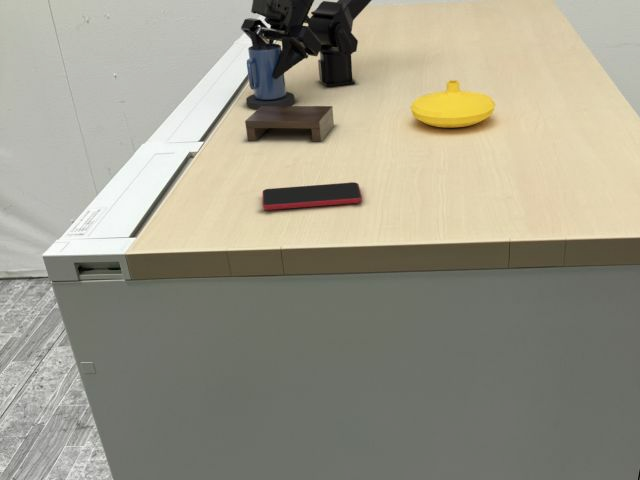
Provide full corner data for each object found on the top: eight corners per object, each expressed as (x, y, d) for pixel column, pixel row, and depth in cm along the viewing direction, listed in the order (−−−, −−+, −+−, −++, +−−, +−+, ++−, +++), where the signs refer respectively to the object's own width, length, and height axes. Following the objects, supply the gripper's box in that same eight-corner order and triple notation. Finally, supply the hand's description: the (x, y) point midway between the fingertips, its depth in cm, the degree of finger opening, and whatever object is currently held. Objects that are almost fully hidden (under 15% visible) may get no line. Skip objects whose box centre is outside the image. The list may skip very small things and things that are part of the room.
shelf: (263, 125, 159) (261, 105, 157) (333, 125, 157) (332, 106, 155) (247, 140, 152) (244, 120, 150) (321, 141, 149) (319, 121, 147)
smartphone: (362, 198, 124) (262, 205, 123) (362, 204, 124) (263, 211, 123) (358, 181, 129) (262, 189, 128) (358, 187, 130) (263, 194, 129)
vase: (435, 140, 147) (435, 97, 142) (396, 119, 158) (395, 79, 153) (511, 125, 151) (513, 84, 147) (467, 106, 163) (468, 67, 158)
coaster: (289, 94, 176) (288, 88, 175) (299, 106, 169) (298, 99, 168) (243, 100, 174) (242, 94, 174) (251, 112, 167) (250, 106, 166)
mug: (272, 89, 174) (266, 41, 168) (292, 94, 171) (287, 45, 165) (242, 98, 170) (234, 50, 164) (262, 103, 166) (256, 53, 160)
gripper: (240, -28, 165) (207, 44, 166) (304, -22, 154) (267, 55, 155) (275, 10, 174) (243, 78, 175) (337, 18, 164) (302, 91, 165)
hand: (262, 75), depth 167 cm, fingers closed on mug, 6 cm apart
